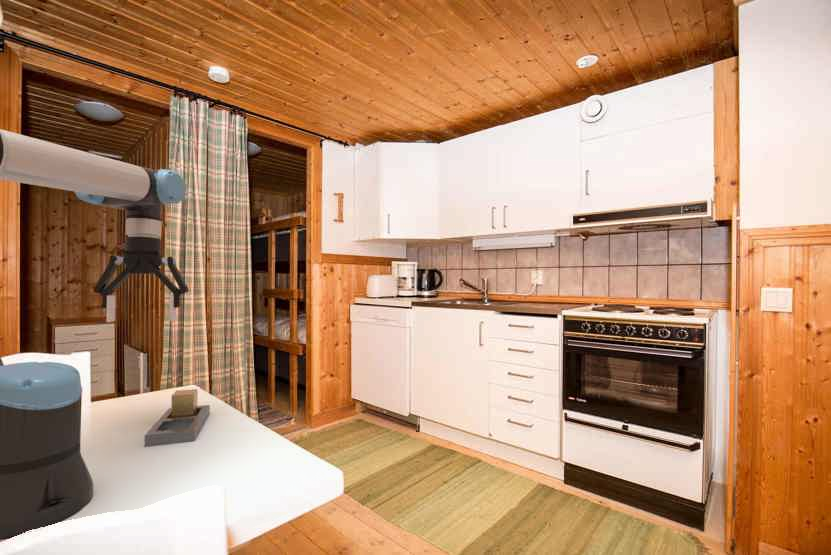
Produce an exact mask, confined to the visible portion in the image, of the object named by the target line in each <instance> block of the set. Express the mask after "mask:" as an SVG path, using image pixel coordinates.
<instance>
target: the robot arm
mask: <svg viewBox="0 0 831 555" xmlns="http://www.w3.org/2000/svg"><path fill="white" fill-rule="evenodd" d="M0 180H1V181H8V182H12V183H13V182H14V183H20V184H27V185H34V186H39V187H46V188H51V189H56V190H57V189H58V190H64V191H69V192H74V194H75V196H76V197H77V198H78V199H79V200H81V201H83V202H86V203H89V204H92V205H95V206H104V207H107V208H108V207H109V208H113V209H118V210H123V211H125V235H126V238H125V247H124V248H125V254H124V256H118V255H110V256H109V260H108V263H107V266H106V267H105V270H104V271H103V273H102V274H101V276H100V278H99V279H98V281H97V282H96V284H95V286H94V287H93V290H92V291H93V293H97V294H100V295H101V296H102V304H101V307H102V308H103V309H106V322H105V323H113V322H116V295H115V294H113V293H114V292H116V290H117V289H118V288H119V287H120V286H122V284H123V283H124V282H125V281H126V280H127V279H128V278H130V276H132V275H133V274H137V275H142V274H143V275H144V274H145V275H152V274H154V275H155V276H156V277H157V278H158V279H159V280H160V281H161V282H162V284H163V285H164V286H166V287H167V289H168V290H170V292H171V293H172V295H169V319H168V320H169V322H173V321H176V320H177V308H180V307H181V304H182V303H181V299H182V298H181V297H182V295H183V294H187V293H189V291H190V289H189V286H188V285H187V284H186V282H185V280H184V278H183V276H182V274H181V273H180V270H179V269H178V266H177V263H176V258H175V257H174V256H168V257H163V256H162V240H161V239H160V238H161V237H162V225H163V224H162V223H163V222H162V221H163V220H162V217H163V216H162V215H163V205H165V206H169V205H175V204H179V203H181V202H182V201H183V200H184V199H185V198H186V194H187V189H186V187H187V185H186V181H185V179H184V177H183V175H181V174H180V173H179V172H178V171H176V170H173V169H164V168H160V169H151V168H147V167H144V166H139V165H135V164H132V163H129V162H125V161H120V160H117V159H113V158H110V157H106V156H101V155H98V154H95V153H90V152H87V151H83V150H80V149H75V148H73V147H68V146H64V145H61V144H58V143H54V142H49V141H47V140H42V139H39V138H35V137H31V136H29V135H28V136H27V135H24V134H20V133H16V132H12V131H8V130H6V129H1V128H0ZM122 263H124V264H125V266H126V267H125V268H124V269H123V270H122V271H121V273H120V274H118V276H116V277H115V279H113V280H112V281H111V279H112V278H113V277H114V276H113V275H114V274H115V273H116V271H117V269H118V267H119V266H120V265H122ZM163 263H164V264H165V266H167V267H168V269H169V271H170V273H171V275H172V277H173V279H174V280H175V283H176V284H177V286H178V287H177V286H176V284H174V282H173V281H172V280H171V279H170V278H169V277H168V276H167V275H166V274H165V272H164V271H163V270H162V269H161V268H160V267H161V265H162V264H163ZM110 281H111V282H110ZM109 282H110V283H109ZM82 395H83V387H82V380H81V374H80V372H79V370H78V369H77V368H76V367H74V366H73V365H70V364H66V363H63V362H55V361H54V362H53V361H44V362H40V361H39V362H38V361H27V362H26V361H25V362H16V363H8V364H5V363H4V361H3V360H2V357H1V356H0V539H6V538H9V537H10V538H11V537H14V536H19V535H22V534H21V533H23V532H26V531H29V530H32V529H37V528H40V527H43V526H45V527H48V526H50V524H51V525H54V524H55V523H57V522H60V521H62V520H64V519H66V518H68V517H70V516H72V515H73V514H75V513H78V512H79V511H80V510H81V509H83V508H84V507H86V505H88V504H89V503H90V502H91V500H93V496H94V480H93V478H92V476H91V474H90V470H89V469H88V467H87V465H86V462H85V460H84V457H83V456H82V454H81V438H82V437H81V434H82V432H81V431H82V399H83V398H82V397H83V396H82ZM47 525H48V526H47ZM43 528H44V527H43ZM40 529H41V528H40ZM37 530H38V529H37ZM18 534H19V535H18ZM23 534H24V533H23Z"/></svg>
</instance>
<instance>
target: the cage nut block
mask: <svg viewBox="0 0 831 555" xmlns="http://www.w3.org/2000/svg"><path fill="white" fill-rule="evenodd" d="M197 406H198V388H193V389H191V388H190V389H177V390H176V391H175V392H174V393H173V394H172V395H171V408H172V415H171V418H179V417H190V416H197Z"/></svg>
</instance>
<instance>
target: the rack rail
mask: <svg viewBox="0 0 831 555" xmlns="http://www.w3.org/2000/svg"><path fill="white" fill-rule="evenodd" d="M210 410H211V409H210V404H204V405H197V416H190V417H179V418H171V415H172V407H170V408H167V410H166V411H165V412H164V413H163V415H162V416H160V418H159V419H158V420H157V421H156V422H155V424H153V425H152V426H151V428H150V429H149V430H148V431H147V432H146V433H145V435H144V448H145V447H153V446H154V447H155V446H163V445H172V444H179V443H180V444H181V443H189V442H195V441H196V439H197V437H198V436H199V433H200V432H201V430H202V428H203V427H204V425H205V423H206V421H207V419H208V418H209V416H210V413H211V412H210Z"/></svg>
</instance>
